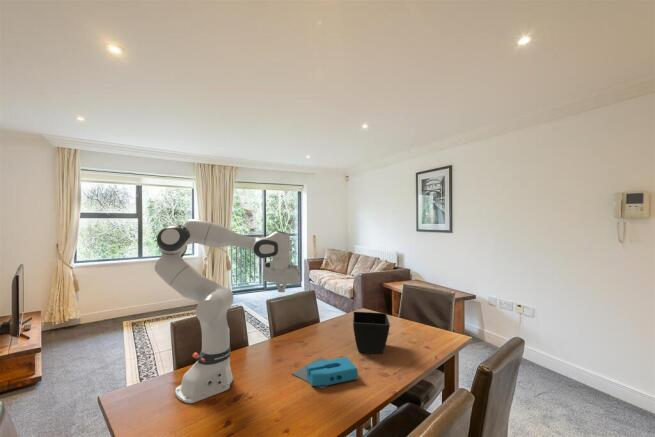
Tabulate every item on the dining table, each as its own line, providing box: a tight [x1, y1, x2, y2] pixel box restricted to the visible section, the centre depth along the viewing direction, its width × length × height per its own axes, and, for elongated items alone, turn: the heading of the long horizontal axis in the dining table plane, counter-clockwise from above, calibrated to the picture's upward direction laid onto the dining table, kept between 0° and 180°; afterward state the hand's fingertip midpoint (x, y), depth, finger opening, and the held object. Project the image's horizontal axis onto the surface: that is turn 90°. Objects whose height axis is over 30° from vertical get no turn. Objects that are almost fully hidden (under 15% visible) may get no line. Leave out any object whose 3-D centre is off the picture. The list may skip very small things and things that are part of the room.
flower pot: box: [352, 311, 391, 355], centre depth 157 cm, size 19×19×17 cm
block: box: [307, 356, 358, 387], centre depth 126 cm, size 12×5×20 cm
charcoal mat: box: [291, 356, 329, 390], centre depth 131 cm, size 20×18×1 cm
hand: (281, 292), depth 141 cm, fingers closed
